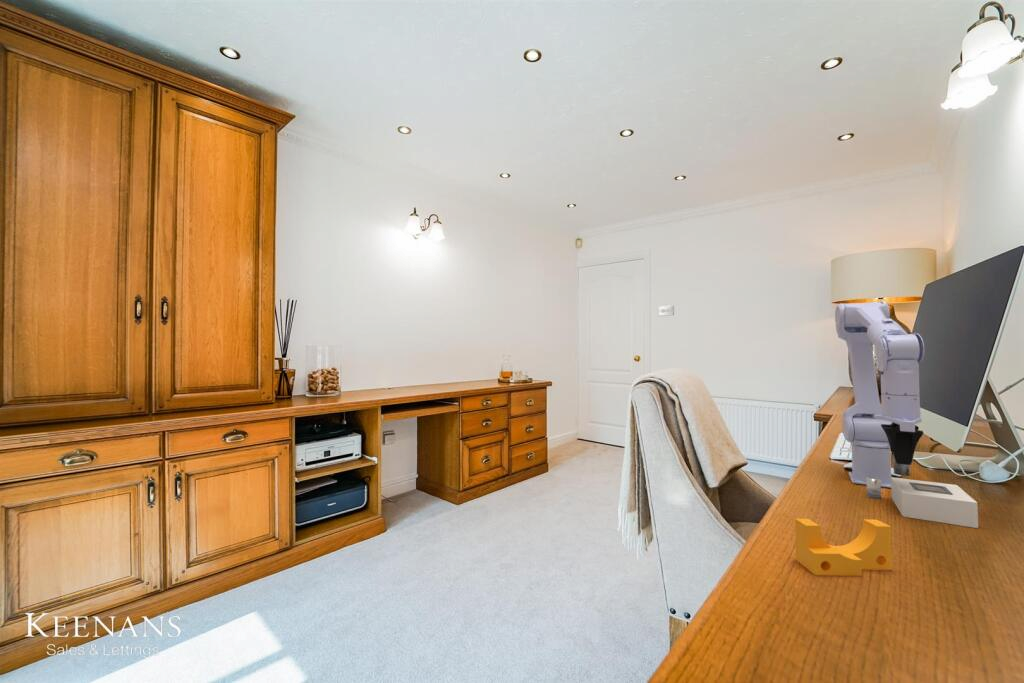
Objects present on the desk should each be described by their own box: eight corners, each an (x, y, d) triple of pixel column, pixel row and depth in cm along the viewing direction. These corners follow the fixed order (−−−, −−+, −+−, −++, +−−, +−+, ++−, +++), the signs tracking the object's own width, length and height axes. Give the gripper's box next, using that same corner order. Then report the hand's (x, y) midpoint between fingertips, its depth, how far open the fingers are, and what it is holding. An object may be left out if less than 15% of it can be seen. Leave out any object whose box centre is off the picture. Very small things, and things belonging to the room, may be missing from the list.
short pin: (866, 494, 94) (865, 476, 94) (880, 496, 92) (879, 478, 92) (867, 497, 92) (867, 479, 92) (882, 499, 90) (881, 480, 90)
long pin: (892, 471, 87) (891, 439, 87) (908, 473, 85) (907, 440, 85) (895, 474, 85) (894, 441, 85) (911, 476, 83) (910, 443, 83)
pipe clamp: (815, 576, 61) (814, 530, 61) (796, 561, 65) (795, 518, 65) (902, 577, 60) (901, 531, 60) (877, 562, 64) (876, 519, 65)
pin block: (891, 498, 91) (890, 476, 91) (957, 507, 86) (956, 483, 86) (902, 516, 81) (902, 491, 81) (978, 528, 76) (977, 501, 76)
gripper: (869, 390, 93) (871, 452, 93) (878, 396, 82) (880, 467, 81) (913, 391, 89) (915, 456, 89) (929, 398, 78) (931, 473, 77)
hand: (902, 462), depth 85 cm, fingers closed on long pin, 2 cm apart
